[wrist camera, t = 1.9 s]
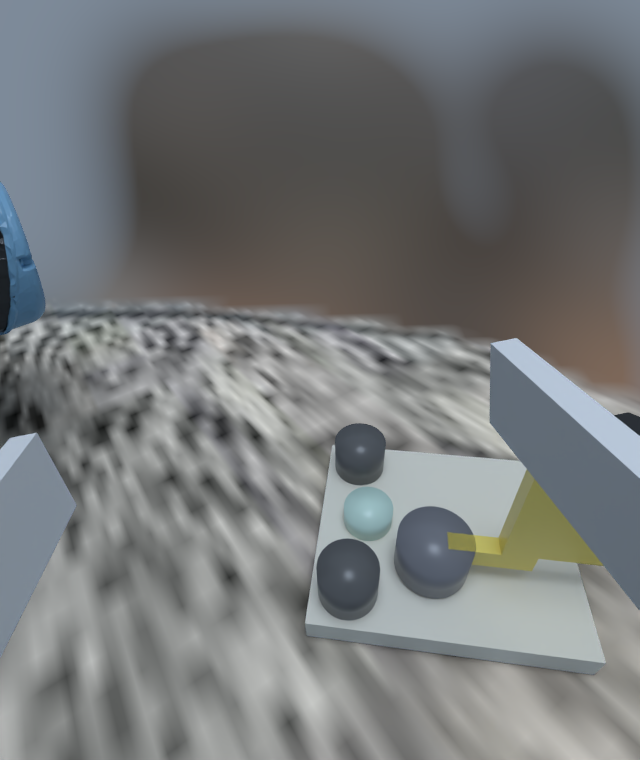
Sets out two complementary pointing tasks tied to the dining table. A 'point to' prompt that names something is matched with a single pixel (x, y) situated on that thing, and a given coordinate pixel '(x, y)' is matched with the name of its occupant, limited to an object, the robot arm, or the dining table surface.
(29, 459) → the robot arm
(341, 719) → the dining table surface
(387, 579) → the base
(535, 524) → the yellow flat slab
